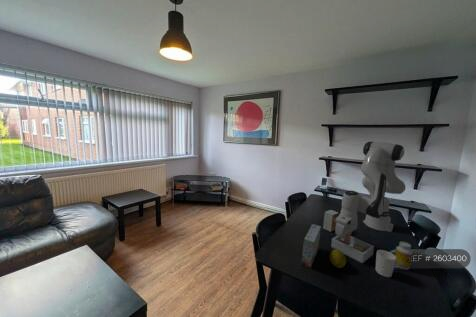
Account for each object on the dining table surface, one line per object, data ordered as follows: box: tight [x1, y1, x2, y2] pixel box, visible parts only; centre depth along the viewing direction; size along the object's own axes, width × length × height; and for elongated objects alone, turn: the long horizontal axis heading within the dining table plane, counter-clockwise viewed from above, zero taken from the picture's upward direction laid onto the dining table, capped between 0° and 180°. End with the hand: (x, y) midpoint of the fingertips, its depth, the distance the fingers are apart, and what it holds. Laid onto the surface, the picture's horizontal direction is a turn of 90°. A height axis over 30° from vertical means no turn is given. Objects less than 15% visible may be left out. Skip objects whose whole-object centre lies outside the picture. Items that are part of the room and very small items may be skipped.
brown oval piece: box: [341, 232, 352, 245], centre depth 118 cm, size 5×5×7 cm
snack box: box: [301, 223, 322, 269], centre depth 108 cm, size 21×6×15 cm, turn 148°
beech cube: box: [353, 243, 366, 253], centre depth 112 cm, size 5×5×5 cm
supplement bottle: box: [394, 241, 413, 271], centre depth 103 cm, size 7×7×13 cm
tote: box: [330, 235, 375, 264], centre depth 115 cm, size 18×14×6 cm
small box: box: [322, 209, 340, 233], centre depth 141 cm, size 8×6×13 cm
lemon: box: [329, 249, 347, 269], centre depth 102 cm, size 11×8×8 cm
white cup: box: [374, 249, 396, 278], centre depth 97 cm, size 8×8×10 cm
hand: (345, 238), depth 118 cm, fingers closed on brown oval piece, 5 cm apart
